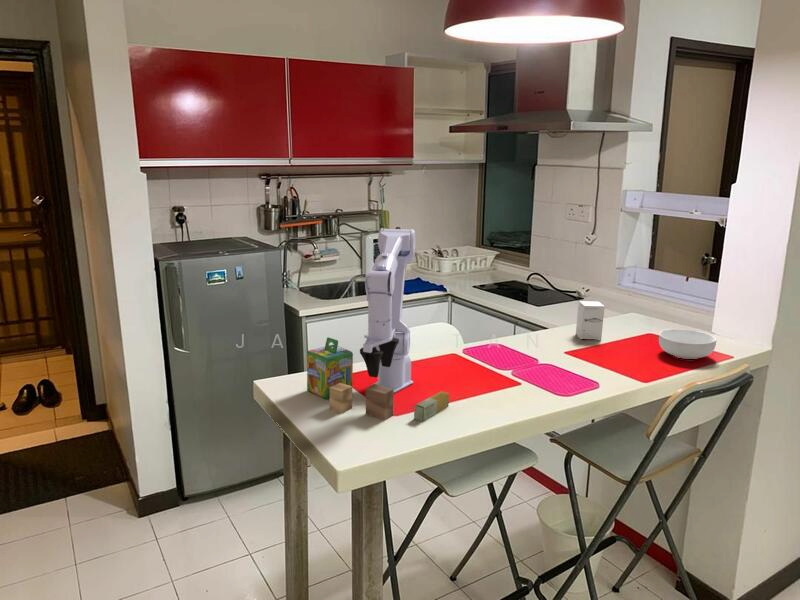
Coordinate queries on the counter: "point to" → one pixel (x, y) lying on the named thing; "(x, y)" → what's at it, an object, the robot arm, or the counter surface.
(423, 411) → the medication box
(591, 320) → the supplement box
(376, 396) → the walnut block
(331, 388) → the oak block
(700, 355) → the cereal bowl
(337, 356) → the chalk box
